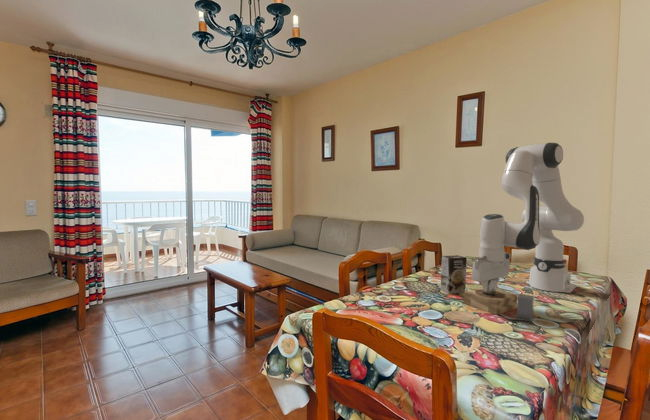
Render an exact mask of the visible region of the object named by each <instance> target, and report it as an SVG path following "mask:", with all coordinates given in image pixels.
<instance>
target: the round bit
mask: <svg viewBox="0 0 650 420" xmlns="http://www.w3.org/2000/svg"><path fill="white" fill-rule="evenodd" d="M487 284H488V286H489V290H488V291H484V294H485V295H489V296H496V290H497V288H496V279H491V280H488V283H487Z"/></svg>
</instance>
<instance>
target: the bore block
mask: <svg viewBox="0 0 650 420" xmlns="http://www.w3.org/2000/svg"><path fill="white" fill-rule="evenodd" d="M462 296H463V300H462V301H463V302H462V303H463V305H466V306H469V307H472V308H474V309H477V310H481V311H483V312H486V313H490V314H492V315H496V316H498V315H500V314H504V313H506V312H510V311H513V310H516V309H517V303H518V295H516V294H514V293H509V292H505V291H501V290H498V289H496V296H489V295H485V294H484V290H483V286H480V287H477V288H474V289H468V290H465V292H463V295H462Z"/></svg>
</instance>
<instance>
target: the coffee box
mask: <svg viewBox="0 0 650 420" xmlns="http://www.w3.org/2000/svg"><path fill="white" fill-rule="evenodd" d="M467 260H468V259H467V257H466V256H462V255H441V269H440V291H442V292H444V293H446V294H449V295H450V294H462V293H463V294H464V292H465V291H466V284H467V283H466V282H467V280H466V279H467Z"/></svg>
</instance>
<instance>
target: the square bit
mask: <svg viewBox="0 0 650 420" xmlns="http://www.w3.org/2000/svg"><path fill="white" fill-rule="evenodd" d="M534 297H535V296H534V295H533V296H532V295H529V294H523V293H522V294H521V293H519V294H518V295H517V308H516V309H517V310H516V319H517V320H521V321H527V322H531V323H532V321H533V318H534V301H535V300H534V299H535V298H534Z"/></svg>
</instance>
